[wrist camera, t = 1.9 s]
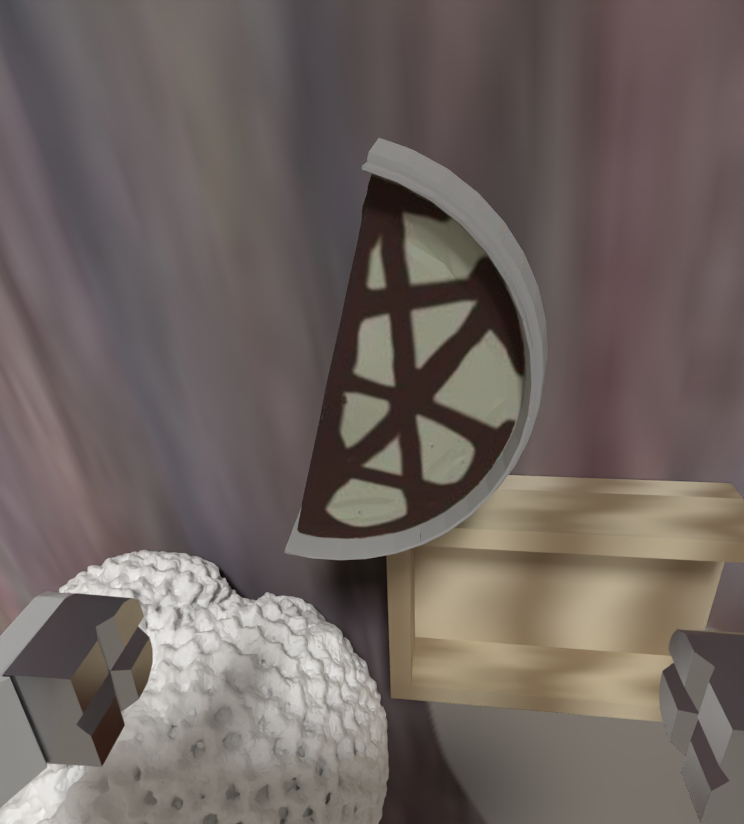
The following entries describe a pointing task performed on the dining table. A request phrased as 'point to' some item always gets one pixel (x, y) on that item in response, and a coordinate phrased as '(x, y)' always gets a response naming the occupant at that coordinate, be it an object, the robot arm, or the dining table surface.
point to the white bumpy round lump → (225, 713)
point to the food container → (422, 367)
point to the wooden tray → (561, 594)
